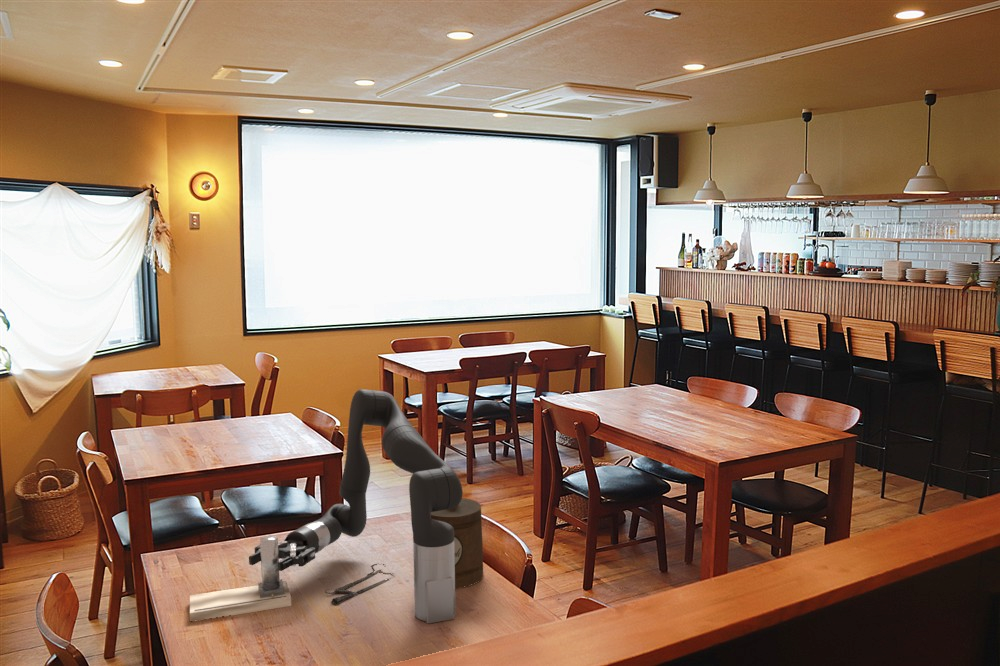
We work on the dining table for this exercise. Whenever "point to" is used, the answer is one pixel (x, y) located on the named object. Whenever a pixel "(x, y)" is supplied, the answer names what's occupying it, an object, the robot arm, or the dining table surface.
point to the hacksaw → (350, 593)
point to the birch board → (234, 602)
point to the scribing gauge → (270, 568)
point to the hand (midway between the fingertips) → (264, 564)
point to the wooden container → (465, 540)
